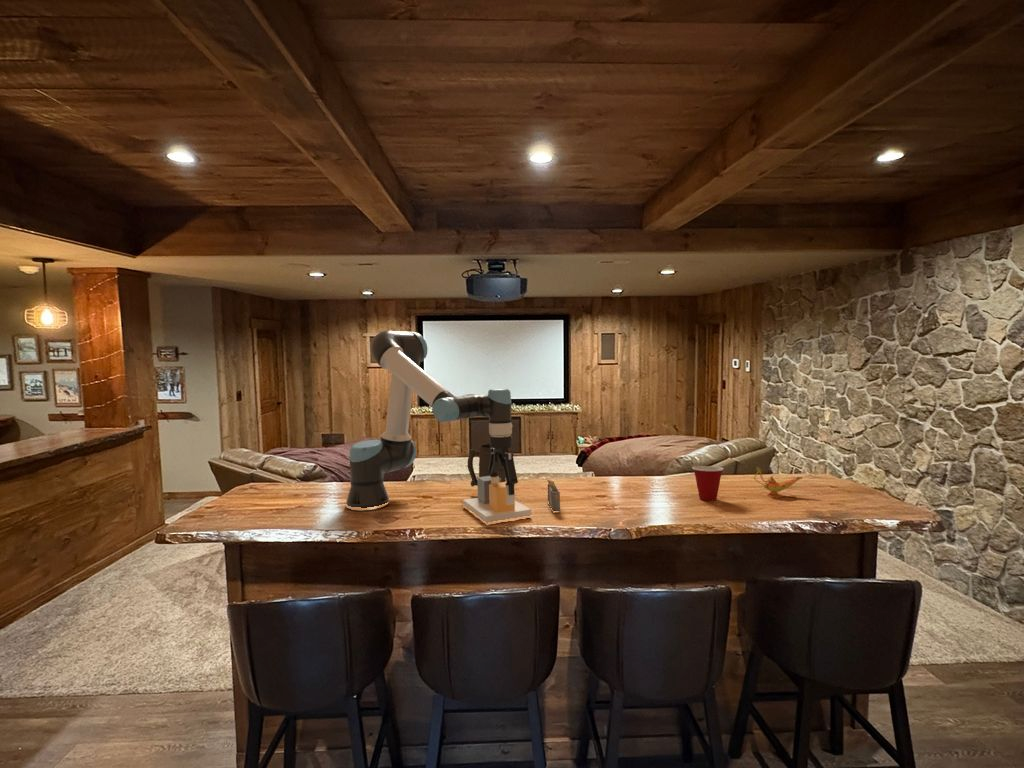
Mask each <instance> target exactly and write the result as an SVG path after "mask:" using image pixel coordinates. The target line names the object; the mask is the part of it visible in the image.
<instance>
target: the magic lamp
mask: <svg viewBox="0 0 1024 768" xmlns="http://www.w3.org/2000/svg"><path fill="white" fill-rule="evenodd" d="M756 470H757V471H756V473H755V475H754V477H753V478H754V480H755V482H757V483H759V484H761V486H763V489H762V488H760V490H762V491H764V490H767V491H770V492H769V493H767V494H766V496H767V497H770V498H774V497H775V499H776V498H782V497H783V496H782V495H781V494H779V493H778V492H782V491H784V490H785V489H787V488H790V487H791V486H793V485H794V484H795V483H796V482H798V481H799V480H801V479H803V476H798V477H795V478H792V479H790V480H787V481H780V482H777V481H776V480H775V478H774V476H773V475H771V476H770V477H769V478H768V479H767V480H765V479H764V478H763V474H762V468H761V467H757V466H756ZM758 474H759V476H760V479H761V480H762V482H764V483H762V482H760V481H758V480H757V478H756V476H757V475H758Z"/></svg>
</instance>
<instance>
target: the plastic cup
mask: <svg viewBox="0 0 1024 768" xmlns="http://www.w3.org/2000/svg"><path fill="white" fill-rule="evenodd" d="M691 468H692V470H693V473H694V477H695V481H696V486H697V487H696V488H697V491H698V497H699V500H700V501H703V502H716V501H717V498H718V492H719V489H720V482H721V478H722V474H723V471H724V467H721V466H713V465H711V466H710V465H695V466H692V467H691Z"/></svg>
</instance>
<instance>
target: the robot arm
mask: <svg viewBox="0 0 1024 768" xmlns="http://www.w3.org/2000/svg"><path fill="white" fill-rule="evenodd" d="M369 347H370V348H369V349H370V355H371V357H372V358H373V360H374V361H375V363H376V364H378V366H380V367H381V368H382V369H383V370H385V371H390V372H391V375H390V382H389V383H390V384H389V394H388V403H387V414H386V422H385V423H386V424H385V431H384V432H383V433H382V434H381V435H380V439H369V440H361V441H359V442H356V443H354V444H353V445H351V446H350V448H349V456H348V459H349V476H350V487H349V491H348V495H347V499H346V501H345V503H346V504H347V505H348V506H351V507H361V508H367V507H374V506H379V505H382V504H385V503H387V502H388V501H389V502H390V498H389V495H388V491H387V489H386V486H385V484H384V474H387V473H391V472H394V471H401V470H403V469H405V468H407V467H410V466H411V465H412V464H413V463H414V461H415V459H416V455H417V448H416V446H415V442H414V441H413V440H412V435H411V434H410V433H409V429H410V418H411V410H412V409H411V408H412V399H413V393H415V394H416V395H417V396H418V397H419V398H420V399H422V400H423V401H424V402H425V403H427V405H429V406H430V407H431V410H432V411H431V412H432V414H433V416H434V418H435V419H436V420H437V421H438V422H440V423H446V422H447V423H451V422H455V421H460V420H464V419H465V420H466V419H471V418H472V419H473V418H476V417H477V418H488V433H489V435H490V436H489V444H490V447H491V448H490V459H489V466H488V474H490V477H491V484H493V483H499V477H498V476H499V473H498V472H499V469H500V466H501V467H502V468H503V472H504V475H505V481H506V482H507V483H506V484H505V485H506V505H512V504H515V501H516V497H515V495H516V493H515V491H516V490H515V485H516V484H518V483H519V481H518V475H517V470H516V466H515V465H516V464H515V461H514V459H515V458H514V452H509V448H512V447H513V436H512V434H513V427H514V425H513V424H512V403H513V402H512V401H513V400H512V396H511V395H512V393H511V391H510V390H509V389H508V388H491V389H489V390H488V391H487V394H474V393H473V394H472V393H470V394H463V395H460V396H456V395H454V394H453V393H451V392H450V390H448V389H446V388H445V387H444V386H443V385H442V384H441V383H440V382H438V381H437V380H436V379H434V378H433V377H432V376H431V375H430V374H428V373H427V372H426V371H425V370H424V369H423V368H421V367H420V365H421V362H423V361H425V359H426V358H427V355H428V344H427V342H426V340H425V338H424V337H423V335H422V334H420V333H419V332H417V331H416V332H415V331H409V330H405V331H403V330H383V331H380V332H378V333H377V334H376V335H375V336H374V337H373V338H372V340H371V343H370V346H369Z"/></svg>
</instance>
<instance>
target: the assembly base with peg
mask: <svg viewBox="0 0 1024 768" xmlns="http://www.w3.org/2000/svg"><path fill="white" fill-rule="evenodd" d="M476 478H477V480H478V486H477V497H474V498H465V499H463V500H462V505H463V504H464V505H465V506H466V507H467V508H469V509H470V510H471V511H472V512H474V513H475V514H476V515H477V516H479V517H480V518H481V519H482V520H483V521H485V522H486V523H488V522H493V521H498V520H505V519H510V518H517V517H523V516H530V515H531V516H532V509H531V508H530V507H528V506H526V505H524V504H522V503H521V502H519V501H517V500H515V510H510V511H504V512H498V513H497V512H496V511H494V510H493V509H491V508H490V505H489V484H491V477H490V476H484V477H479V476H478V477H477V476H476ZM499 483H501V479H500V478H499Z"/></svg>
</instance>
